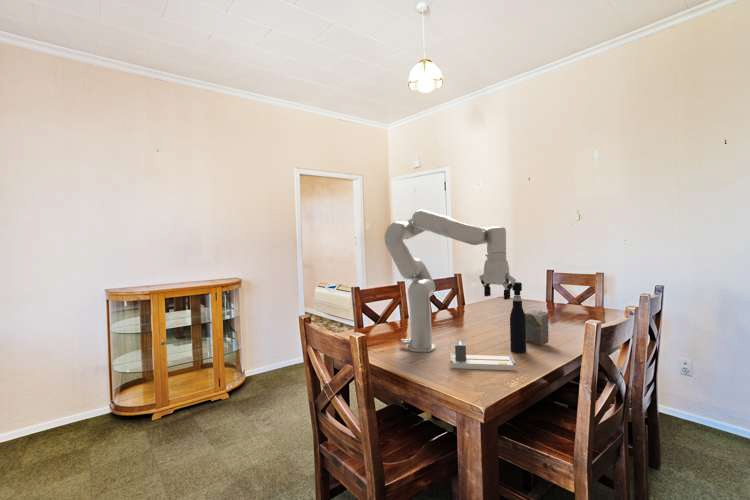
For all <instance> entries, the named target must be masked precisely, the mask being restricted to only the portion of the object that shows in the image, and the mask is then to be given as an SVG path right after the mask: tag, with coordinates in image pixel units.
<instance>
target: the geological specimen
mask: <svg viewBox="0 0 750 500" xmlns="http://www.w3.org/2000/svg"><path fill="white" fill-rule="evenodd" d="M524 314H525V319H526V341H529V342H530V343H532V344H535V345H538V346H544V345H547V344H548V343H549V319H550V318H549V315H550V314H549V313H548V312H547V311H542V310H537V309H535V310H527V311H524Z"/></svg>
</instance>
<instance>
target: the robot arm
mask: <svg viewBox="0 0 750 500" xmlns="http://www.w3.org/2000/svg"><path fill="white" fill-rule="evenodd" d="M426 231H427V232H430V233H433V234H437V235H439V236H442V237H445V238H449V239H452V240H455V241H457V242H461V243H465V244H468V245H471V246H478V245H484V244H486V253H485V257H486V259H485V261H484V267H483V273H482V274H481V275H479V277H478V278H479V280H480V282H481V284H482V286H483V288H484V291H483V292H484V297H490V296H491V291H492V290H491V286H490V285H498V286H502V287H503V288H504V289H503V300H510V299H511V290H512V287H513V286H514V284H515V282H516V281H517V279H516V278H515V277H513V276H511V275H510V267H509V261H508V259H507V230H506V227H504V226H492V227H491V226H490V227H482V226H474V225H470V224H467V223H464V222H460V221H457V220H455V219H453V218H452V217H451V216H450V217H449V216H446V215H443V214H438V213H435V212H432V211H429V210H426V209H419V210H416V211H415V212H414V213H413V215H412V217H411V218H410V219H408V220H406V221H398V220H397V221H394V222H392V223H391V224H389V225H388V226H387V228H386V230H385V233H384V243H385V247H386V248H387V251H388V253H389V254H390V257H391V259H392V260H393V262H394V264H395V267H396V268H397V269H398V272H399V274H400V275H401V277H402V278H403V279H405V280H411V283H410V284H409V286H408V288H407V296H408V297H407V299H408V302H409V303H408V304H409V320H410V323H409V324H410V338H408V339H407V338H401V344H403V345H407V350H409V351H410V352H415V353H431V352H433V351H435V349H436V345H435V343H434V344H433V342H432V341H433V339H432V311H431V310H432V309H431V308H432V307H431V303H430V302H431V301H430V297H432V296H433V295H434V294H435V291H436V284H435V281H434V280H433V278H432V276H431V274H430V273H429V270H428V269H427V267H426V265H425V263H424V262H423V261H422V260H421V259H419V258H418V257H413V256H412V254H411V252H410V249H409V248H408V246H407V245H406V244H405V242H404V240H409V239H412V238H414V237H416V236H418V235H420V234H421V233H423V232H424V233H425V232H426Z"/></svg>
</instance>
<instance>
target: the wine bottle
mask: <svg viewBox="0 0 750 500" xmlns="http://www.w3.org/2000/svg"><path fill="white" fill-rule="evenodd" d="M522 284H523V283H522V282H518V281H517V282H515V284H514V286H513V287H512V289H511V290H512V291H513V297H512V299H513V300H512V308H511V311H510V314H509V337H510V339H509V341H510V352H511V353H513V354H517V355H518V354H520V355H522V354H526V353H527V340H526V319H525V314H524V312H525V311H524V309H523V300H522V296H521V292H522V290H523V285H522Z"/></svg>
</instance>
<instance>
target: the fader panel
mask: <svg viewBox="0 0 750 500" xmlns="http://www.w3.org/2000/svg"><path fill="white" fill-rule="evenodd" d="M449 356H450V362H449V363H450V369H466V370H467V369H468V370H469V369H470V370H473V369H474V370H493V371H495V370H497V371H498V370H499V371H516V370H517V363H516V361H515V359H514V357H513V355H512V354H510V353H509V354H508V355H507V356H506V355H484V354H483V355H481V354H479V355H478V354H477V355H476V354H475V355H474V354H466V361H456V358H455V354H453V352H450V355H449Z"/></svg>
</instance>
